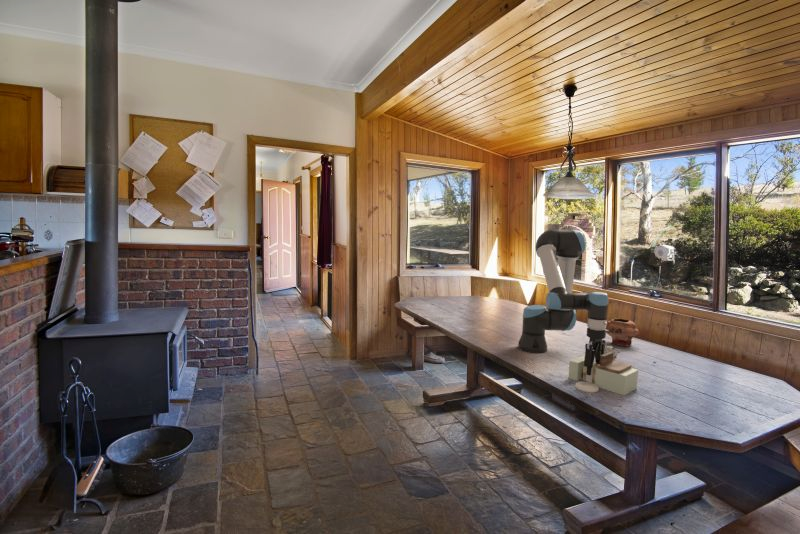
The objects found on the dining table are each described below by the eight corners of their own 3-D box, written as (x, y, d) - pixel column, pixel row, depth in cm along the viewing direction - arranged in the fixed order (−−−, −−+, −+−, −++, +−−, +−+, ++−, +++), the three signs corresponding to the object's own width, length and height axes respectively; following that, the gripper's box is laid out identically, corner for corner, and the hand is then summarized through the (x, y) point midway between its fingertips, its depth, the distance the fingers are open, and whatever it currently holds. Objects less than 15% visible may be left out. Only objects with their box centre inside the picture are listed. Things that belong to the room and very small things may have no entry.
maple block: (582, 380, 196) (583, 364, 195) (589, 377, 200) (590, 361, 199) (596, 384, 192) (597, 368, 191) (602, 381, 196) (603, 365, 195)
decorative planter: (596, 342, 256) (598, 318, 255) (602, 338, 266) (603, 315, 264) (635, 349, 244) (637, 324, 243) (639, 344, 254) (641, 320, 252)
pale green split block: (568, 378, 198) (569, 360, 197) (581, 372, 206) (583, 355, 205) (624, 395, 180) (625, 376, 179) (636, 388, 188) (638, 369, 187)
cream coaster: (571, 387, 187) (571, 384, 187) (581, 382, 193) (582, 380, 193) (592, 394, 180) (592, 391, 180) (602, 389, 186) (602, 386, 186)
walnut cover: (596, 367, 188) (597, 355, 187) (609, 361, 196) (610, 350, 195) (618, 373, 181) (619, 361, 181) (631, 367, 189) (632, 355, 188)
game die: (612, 369, 222) (623, 357, 216) (595, 362, 224) (605, 350, 217) (612, 356, 229) (623, 344, 222) (596, 349, 230) (606, 337, 224)
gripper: (594, 333, 184) (590, 387, 187) (615, 326, 197) (611, 377, 199) (577, 329, 190) (573, 382, 192) (598, 323, 202) (594, 373, 205)
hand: (592, 380), depth 196 cm, fingers open, 6 cm apart
